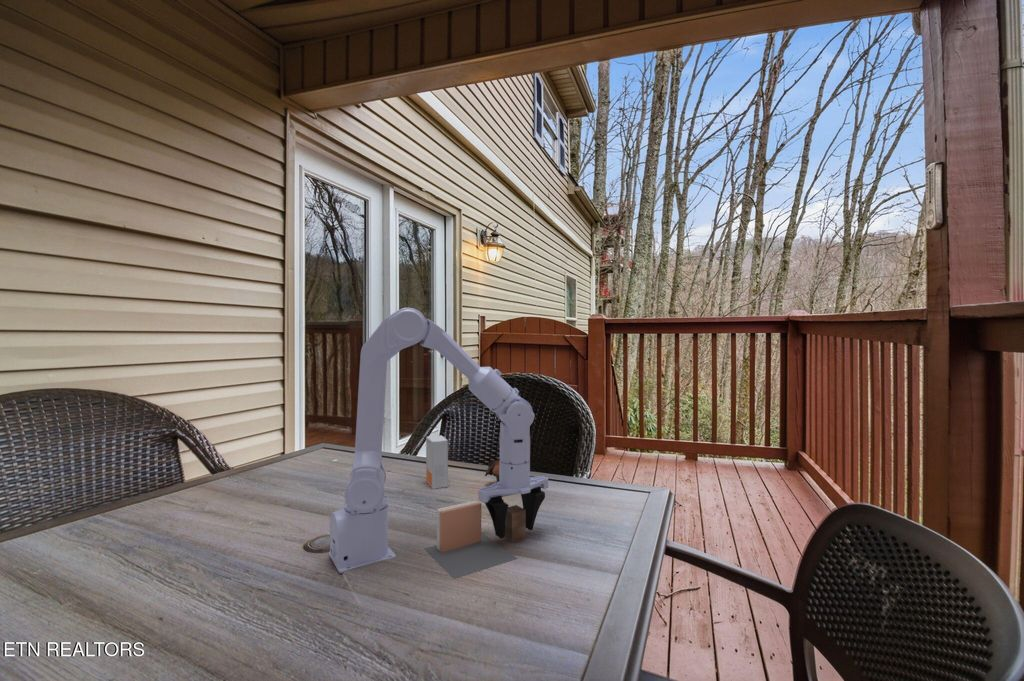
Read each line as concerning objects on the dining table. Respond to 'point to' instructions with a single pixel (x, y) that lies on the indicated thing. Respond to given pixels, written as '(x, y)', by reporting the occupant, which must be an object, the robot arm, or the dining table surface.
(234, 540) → the dining table surface
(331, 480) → the dining table surface
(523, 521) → the walnut block
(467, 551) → the mat
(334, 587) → the dining table surface
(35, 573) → the dining table surface
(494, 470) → the pottery mug
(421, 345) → the robot arm
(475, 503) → the whetstone
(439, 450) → the skincare box
